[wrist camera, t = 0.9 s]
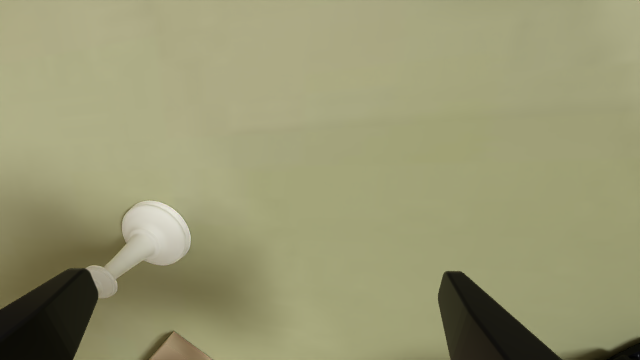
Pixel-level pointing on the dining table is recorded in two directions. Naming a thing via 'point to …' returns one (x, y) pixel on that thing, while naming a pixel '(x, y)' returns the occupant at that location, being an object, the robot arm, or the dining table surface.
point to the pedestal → (178, 350)
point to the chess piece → (144, 243)
